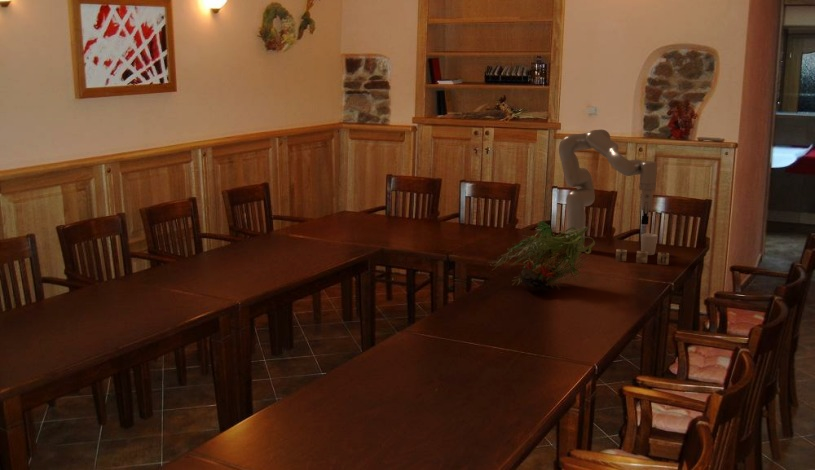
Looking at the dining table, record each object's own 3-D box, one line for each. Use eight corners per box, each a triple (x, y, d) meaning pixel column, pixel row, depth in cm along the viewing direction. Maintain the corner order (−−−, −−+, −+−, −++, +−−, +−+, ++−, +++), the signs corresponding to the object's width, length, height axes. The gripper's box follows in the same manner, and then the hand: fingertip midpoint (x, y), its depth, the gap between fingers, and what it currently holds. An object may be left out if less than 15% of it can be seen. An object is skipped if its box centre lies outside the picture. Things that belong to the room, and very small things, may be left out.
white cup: (657, 255, 433) (659, 236, 431) (642, 255, 434) (643, 236, 432) (653, 252, 441) (655, 233, 439) (638, 252, 441) (639, 233, 439)
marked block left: (615, 261, 420) (616, 251, 419) (615, 258, 425) (616, 249, 424) (625, 261, 419) (626, 251, 418) (625, 259, 424) (626, 249, 423)
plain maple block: (636, 262, 418) (637, 252, 417) (636, 260, 422) (637, 250, 421) (646, 263, 416) (647, 253, 415) (646, 261, 421) (647, 251, 420)
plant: (483, 264, 372) (542, 216, 390) (534, 326, 369) (591, 275, 387) (516, 237, 341) (578, 186, 359) (572, 305, 338) (632, 250, 356)
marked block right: (657, 264, 415) (658, 254, 414) (657, 262, 420) (658, 252, 419) (668, 265, 414) (669, 255, 413) (667, 262, 419) (668, 252, 418)
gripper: (655, 189, 404) (653, 227, 408) (654, 185, 418) (652, 221, 422) (639, 188, 406) (636, 226, 409) (639, 184, 420) (636, 221, 424)
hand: (644, 224), depth 416 cm, fingers closed
